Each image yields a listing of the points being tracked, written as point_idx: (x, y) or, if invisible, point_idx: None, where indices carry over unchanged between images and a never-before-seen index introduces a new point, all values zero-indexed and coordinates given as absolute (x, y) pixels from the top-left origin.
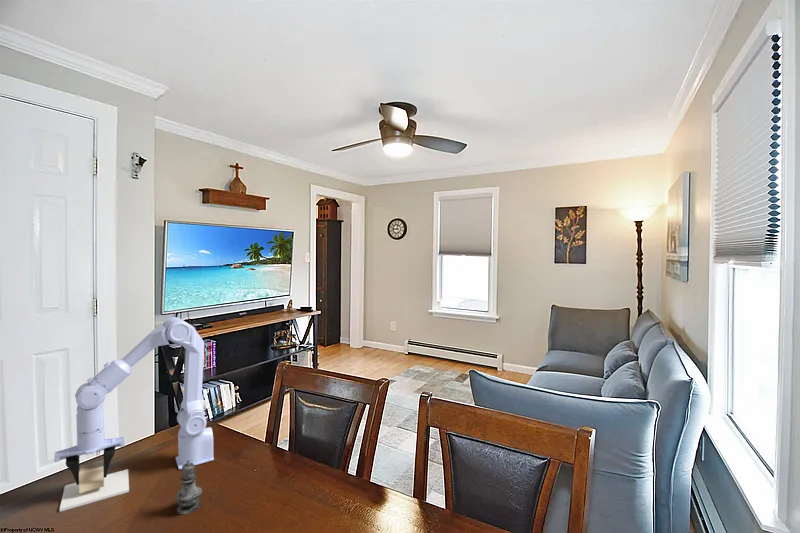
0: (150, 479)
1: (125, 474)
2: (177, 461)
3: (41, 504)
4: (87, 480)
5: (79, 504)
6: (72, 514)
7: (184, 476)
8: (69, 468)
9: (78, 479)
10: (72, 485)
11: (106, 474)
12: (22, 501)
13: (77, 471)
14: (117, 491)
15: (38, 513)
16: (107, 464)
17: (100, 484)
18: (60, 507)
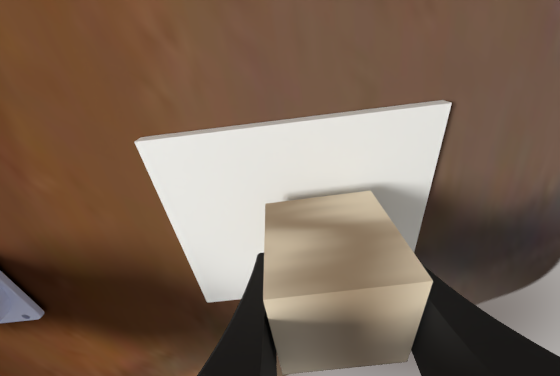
0: (79, 209)
1: (204, 274)
2: (8, 290)
3: (486, 204)
4: (352, 235)
5: (362, 111)
6: (392, 30)
7: None
8: (553, 355)
9: None
10: None
11: (255, 265)
12: (526, 249)
13: (445, 311)
14: (194, 151)
15: (515, 136)
16: (239, 328)
17: (279, 211)
18: (444, 123)
